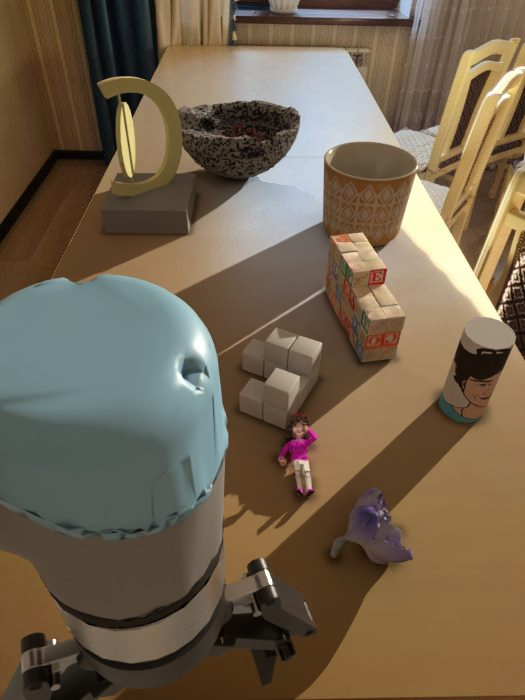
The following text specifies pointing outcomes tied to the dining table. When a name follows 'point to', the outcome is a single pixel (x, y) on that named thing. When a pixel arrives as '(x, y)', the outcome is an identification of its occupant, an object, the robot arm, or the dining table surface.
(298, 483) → the character figurine
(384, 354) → the stack of blocks
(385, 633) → the dining table surface
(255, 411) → the white cube cluster
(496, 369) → the illustrated cylindrical canister
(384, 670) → the dining table surface
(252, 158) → the bowl
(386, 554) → the flower
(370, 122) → the dining table surface
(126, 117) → the trophy
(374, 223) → the planter
